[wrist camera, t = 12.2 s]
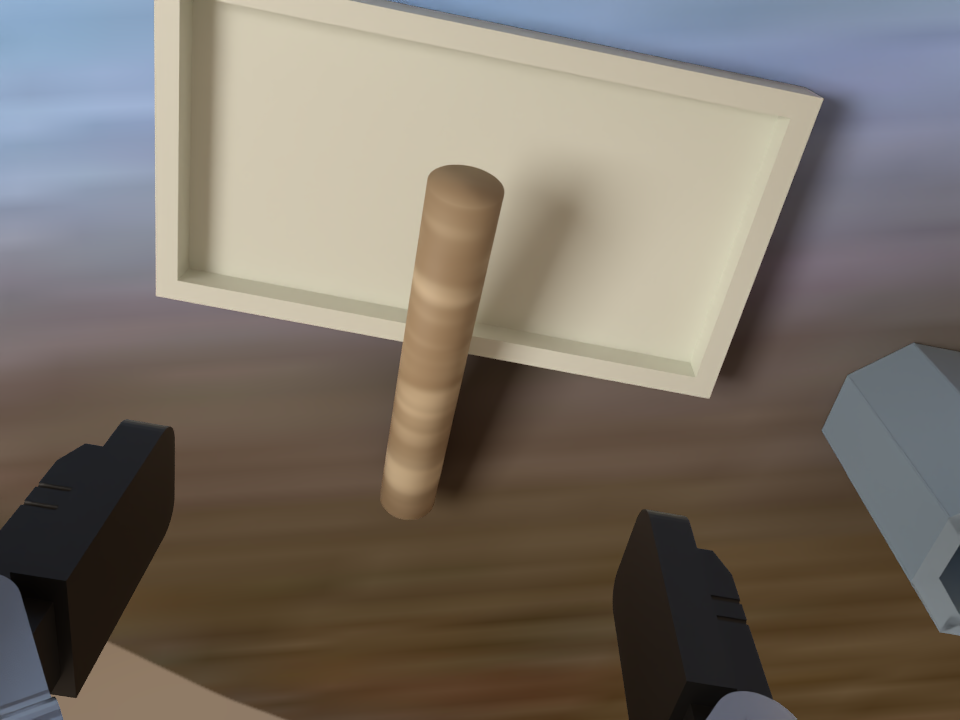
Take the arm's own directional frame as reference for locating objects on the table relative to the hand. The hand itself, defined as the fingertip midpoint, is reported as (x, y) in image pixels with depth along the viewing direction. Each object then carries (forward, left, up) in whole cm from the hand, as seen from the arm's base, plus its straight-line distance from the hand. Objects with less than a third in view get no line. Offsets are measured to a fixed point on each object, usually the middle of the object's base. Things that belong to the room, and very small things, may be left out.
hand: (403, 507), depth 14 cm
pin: (-2, 0, -15) cm, 15 cm away
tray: (0, 0, -19) cm, 19 cm away
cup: (+6, +20, -19) cm, 28 cm away
